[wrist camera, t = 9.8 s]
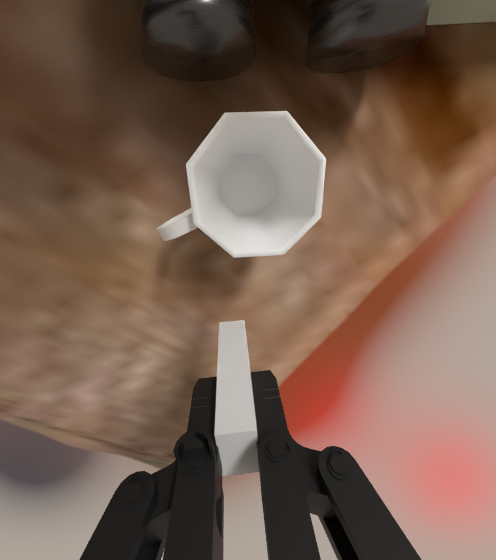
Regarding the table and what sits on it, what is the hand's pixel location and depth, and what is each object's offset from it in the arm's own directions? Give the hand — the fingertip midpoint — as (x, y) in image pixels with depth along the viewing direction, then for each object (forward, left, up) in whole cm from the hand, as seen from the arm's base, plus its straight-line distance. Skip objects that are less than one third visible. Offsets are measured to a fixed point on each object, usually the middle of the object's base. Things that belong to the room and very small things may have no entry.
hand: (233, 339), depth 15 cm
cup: (+1, +8, -9) cm, 12 cm away
